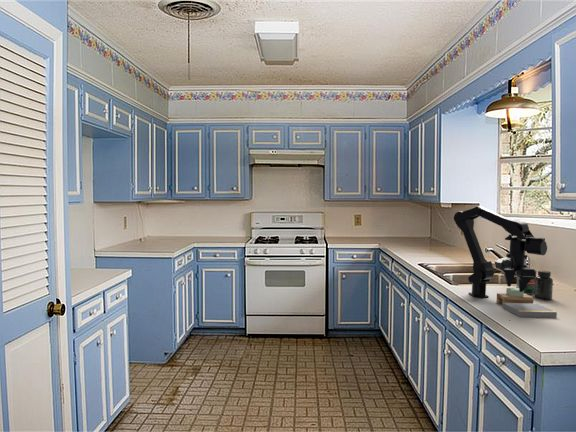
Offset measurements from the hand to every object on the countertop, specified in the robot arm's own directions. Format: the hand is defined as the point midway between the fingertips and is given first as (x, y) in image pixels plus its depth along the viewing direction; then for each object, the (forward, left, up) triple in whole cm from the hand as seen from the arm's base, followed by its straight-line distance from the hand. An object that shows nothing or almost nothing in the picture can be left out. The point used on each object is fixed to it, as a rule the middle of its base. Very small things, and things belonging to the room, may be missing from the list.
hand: (514, 289), depth 177 cm
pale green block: (0, 0, -3) cm, 3 cm away
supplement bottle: (-11, +19, -7) cm, 23 cm away
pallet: (0, 0, -7) cm, 7 cm away
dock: (+12, -1, -6) cm, 14 cm away
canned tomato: (-21, +17, -7) cm, 28 cm away
